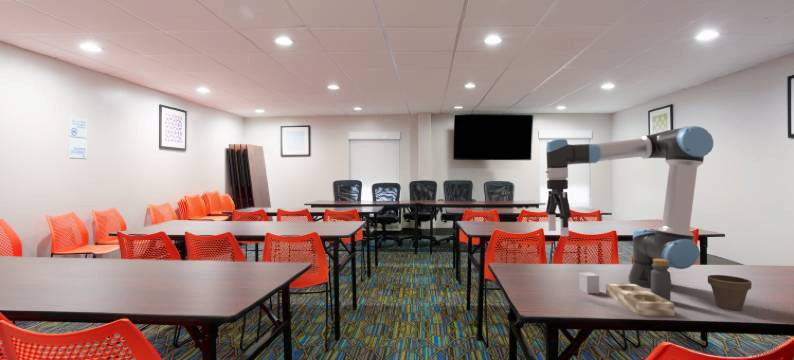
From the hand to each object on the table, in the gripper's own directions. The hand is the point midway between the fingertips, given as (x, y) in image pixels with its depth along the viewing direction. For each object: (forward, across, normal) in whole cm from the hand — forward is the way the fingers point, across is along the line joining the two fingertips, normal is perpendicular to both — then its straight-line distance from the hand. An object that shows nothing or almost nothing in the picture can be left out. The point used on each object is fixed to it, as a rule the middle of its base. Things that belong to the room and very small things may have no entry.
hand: (558, 233), depth 145 cm
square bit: (+24, -3, +13) cm, 27 cm away
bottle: (+24, +7, +34) cm, 42 cm away
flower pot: (+24, +13, +53) cm, 60 cm away
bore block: (+24, +11, +23) cm, 35 cm away
